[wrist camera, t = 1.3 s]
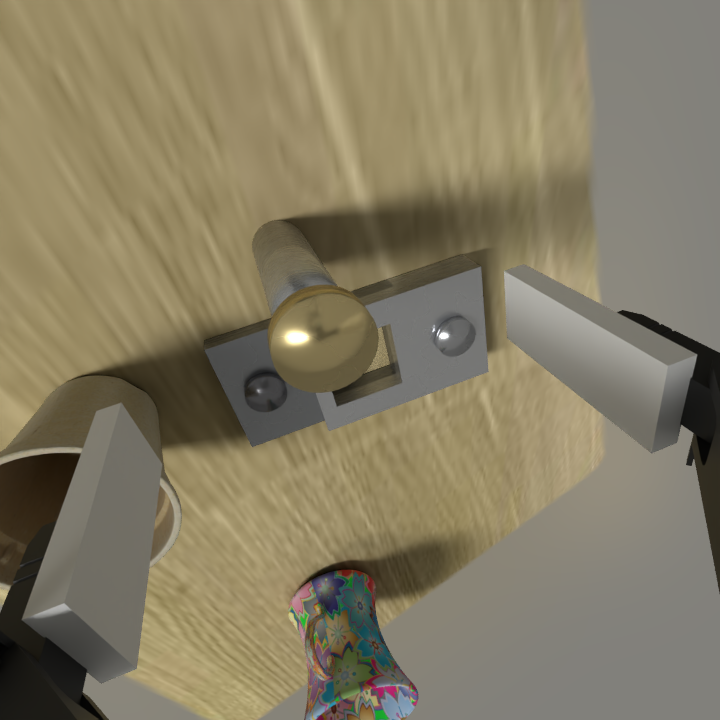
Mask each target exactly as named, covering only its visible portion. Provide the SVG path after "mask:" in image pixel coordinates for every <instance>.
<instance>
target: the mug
mask: <svg viewBox="0 0 720 720" xmlns="http://www.w3.org/2000/svg"><path fill="white" fill-rule="evenodd" d="M375 597H376V585H375V583H374V581H373V579H372V578H371V577H370V576H368V575H367V574H365V573H363V572H360V571H357V570H338V571H333V572H329V573H326V574H323V575H321V576H318V577H316V578H314V579H313V580H311V581H309V582H308V583H306V584H305V585H304V586H303V587H301V588H300V589H299V590H298V591H297V592H296V594H295V595H294V596H293V598H292V600H291V602H290V604H289V609H288V615H289V618H290V621H291V622H292V623H293V625H294V626H295V627H296V629H297V631H298V632H299V635H300V637H301V639H302V642H303V646H304V649H305V654H306V659H307V668H308V697H307V706H306V713H305V719H304V720H404V719H405V718H406V717H407V716H409V714H410V713H411V712H412V711H413V709H414V708H415V706H416V704H417V701H418V692H417V689H416V687H415V686H414V684H413V683H412V682H411V681H410V680H409V679H408V678H407V676H406V675H405V674H404V673H403V671H402V670H401V669H400V667H399V666H398V665H397V663H396V661H395V660H394V658H393V657H392V655H391V653H390V651H389V650H388V648H387V646H386V644H385V641H384V639H383V637H382V635H381V631H380V628H379V625H378V621H377V616H376V610H375Z"/></svg>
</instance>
